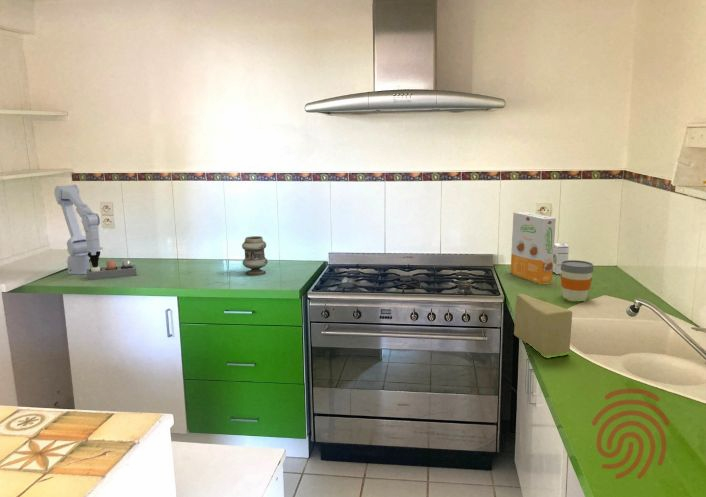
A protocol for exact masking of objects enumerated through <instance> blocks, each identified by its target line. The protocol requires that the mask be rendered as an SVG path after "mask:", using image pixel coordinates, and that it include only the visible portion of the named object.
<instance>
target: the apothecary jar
mask: <svg viewBox="0 0 706 497" xmlns="http://www.w3.org/2000/svg"><path fill="white" fill-rule="evenodd" d="M266 248H267V242H266V241H264V238H263V236H260V235H259V236H258V235H257V236H254V235H253V236H251V235H250V236H246V237H245V238H244V242H242V244H241V249H243V250H244V259H243V260H242V265H243V266H244V267H245V268H247V269H249V270H247V271H246V272H245V274H246V276H252V277H256V276H257V277H258V276H262V275H265V274H266V270H264V269H262V268H264V267H265V266H267V264H268V258H266V256H265V255H266V254H265V249H266Z"/></svg>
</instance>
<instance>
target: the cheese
mask: <svg viewBox="0 0 706 497" xmlns="http://www.w3.org/2000/svg"><path fill="white" fill-rule="evenodd" d="M572 322H573V311H572V310H570V309H568V308H565V307H561V306H558V305H556V304H553V303H552V302H551V303H550V302H546V301H543V300H541V299H539V298H535V297H532V296H530V295H527V294H524V293H518V294H517V295H516V299H515V310H514V327H513V335H514V336H515V337H517V339H519V340H520V341H522V343H525V344H526V343H529V344H531V345H532V346H533V347H535V348H536V349H537V350H538V351H539V352H540V353H542V354H543V355H545V356H548V355H554V354H560V353H566V352H569V353H570V350H571V338H572V337H571V334H572Z"/></svg>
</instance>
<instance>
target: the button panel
mask: <svg viewBox="0 0 706 497" xmlns="http://www.w3.org/2000/svg"><path fill="white" fill-rule="evenodd" d="M85 275H86V281H91V280H92V281H93V280H103V279H114V278H124V277H135V276H137V267H136V264H131V268H127V269H123V268H122V265H117V266H116V270H107V266H106V267H100V271H95V272H91V268H90V269H87V272H86V274H85Z"/></svg>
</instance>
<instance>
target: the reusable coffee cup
mask: <svg viewBox="0 0 706 497" xmlns="http://www.w3.org/2000/svg"><path fill="white" fill-rule="evenodd" d="M561 272H562V275H560V284H561V287H562V298H563V297H564V298H567V299H574V300H583V299H586V298H588V294H589V290H590V289H591V285H592V280H593V277H592V276H593V273H594V264H593V263H592V262H589V261H585V260H576V259H575V260H573V259H572V260H571V259H568V260H567V261H563V262H562V264H561ZM586 300H587V299H586Z"/></svg>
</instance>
